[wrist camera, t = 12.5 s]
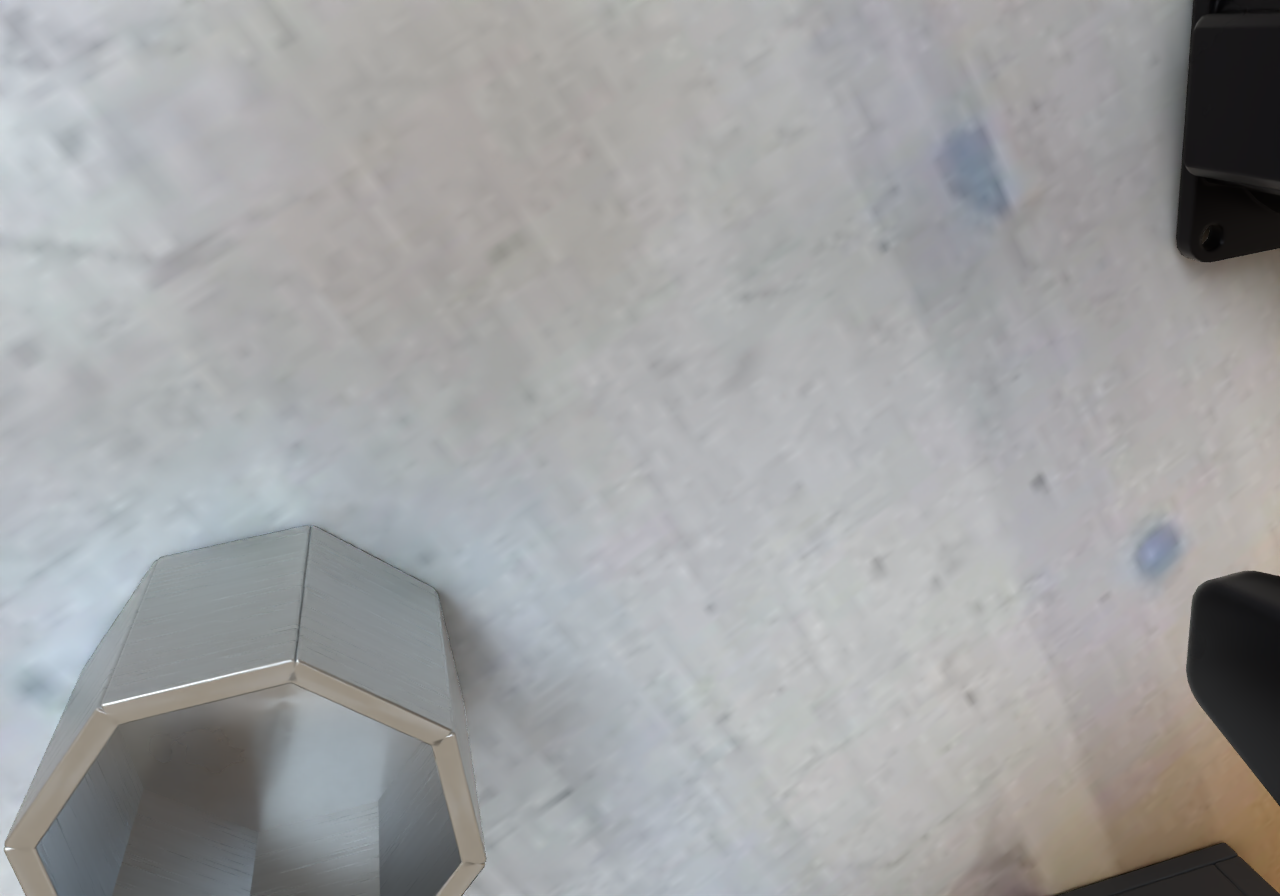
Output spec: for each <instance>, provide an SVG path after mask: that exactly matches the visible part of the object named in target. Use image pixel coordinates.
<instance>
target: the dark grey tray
mask: <svg viewBox="0 0 1280 896" xmlns="http://www.w3.org/2000/svg"><path fill="white" fill-rule="evenodd" d="M1057 896H1280V894H1279V893H1278V892H1277V891H1276V890H1275V889H1274V888H1273V887H1272V886H1270V885H1269V884H1268V883H1267V882H1266V881H1265V880H1264V879H1263V878H1262V877H1261V876H1260V875H1259V874H1258V873H1257V872H1256V871H1254V870H1253V869H1252V868H1251V867H1250V866H1249V865H1248V864H1247V863H1246V862H1245V861H1244V860H1243V859H1242V858H1241V857H1238V855H1237V853H1236V852H1235V851H1234V850H1233V849H1231V848H1230V847H1229V846H1228V845H1227V844H1226V843H1221V844H1218V845H1215V846H1211V847H1208V848H1205V849H1202V850H1199V851H1196V852H1193V853H1189V854H1186V855H1183V856H1180V857H1177V858H1174V859H1170V860H1167V861H1164V862H1161V863H1158V864H1155V865H1152V866H1148V867H1145V868H1142V869H1139V870H1136V871H1133V872H1129V873H1126V874H1123V875H1120V876H1117V877H1114V878H1111V879H1107V880H1104V881H1101V882H1098V883H1095V884H1092V885H1088V886H1085V887H1082V888H1079V889H1076V890H1073V891H1070V892H1066V893H1063V894H1060V895H1057Z"/></svg>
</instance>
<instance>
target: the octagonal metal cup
mask: <svg viewBox="0 0 1280 896" xmlns="http://www.w3.org/2000/svg"><path fill="white" fill-rule="evenodd" d="M4 852H5V854H6V856H7V858H8V860H9V862H10V864H11V866H12V868H13V870H14V872H15V874H16V877H17V879H18V881H19V883H20V885H21V887H22V889H23V891H24V893H25V895H26V896H462V895H463V894H464V892H465V891H466V890H467V888H468V887H469V886H470V885H471V883H472V882H473V881H474V879H475V878H476V877H477V876H478V874H479V873H480V872H481V870H482V869H483V868H484V866H485V862H486V859H487V857H486V851H485V844H484V837H483V830H482V823H481V816H480V809H479V803H478V796H477V789H476V782H475V775H474V768H473V761H472V755H471V748H470V741H469V734H468V727H467V720H466V713H465V707H464V700H463V696H462V692H461V688H460V683H459V679H458V675H457V671H456V667H455V663H454V658H453V654H452V650H451V646H450V642H449V638H448V633H447V629H446V625H445V621H444V617H443V613H442V608H441V604H440V600H439V596H438V593H437V592H436V591H435V589H434V588H433V587H431V586H429V585H427V584H425V583H423V582H421V581H419V580H417V579H415V578H413V577H411V576H410V575H408V574H406V573H404V572H402V571H400V570H398V569H396V568H394V567H392V566H390V565H388V564H386V563H385V562H383V561H381V560H379V559H377V558H375V557H373V556H371V555H369V554H367V553H365V552H363V551H361V550H360V549H358V548H356V547H354V546H352V545H350V544H348V543H346V542H344V541H342V540H340V539H338V538H336V537H335V536H333V535H331V534H329V533H327V532H325V531H323V530H321V529H319V528H317V527H315V526H312V527H310V526H309V525H306V526H301V527H297V528H292V529H287V530H283V531H278V532H274V533H269V534H265V535H260V536H255V537H251V538H246V539H242V540H237V541H233V542H228V543H223V544H219V545H214V546H210V547H205V548H200V549H196V550H191V551H187V552H182V553H178V554H173V555H168V556H164V557H161V558H159V560H156V561H155V562H154V563H153V565H152V566H151V568H150V569H149V571H148V572H147V574H146V575H145V577H144V578H143V580H142V581H141V583H140V584H139V586H138V587H137V589H136V590H135V592H134V593H133V595H132V596H131V598H130V599H129V601H128V602H127V604H126V605H125V607H124V608H123V610H122V611H121V613H120V614H119V616H118V617H117V619H116V620H115V622H114V623H113V625H112V626H111V628H110V629H109V631H108V632H107V634H106V635H105V637H104V638H103V640H102V641H101V643H100V644H99V646H98V647H97V649H96V650H95V652H94V653H93V655H92V656H91V658H90V659H89V661H88V662H87V664H86V665H85V667H84V668H83V670H82V672H81V674H80V676H79V678H78V681H77V683H76V685H75V687H74V690H73V692H72V694H71V696H70V698H69V701H68V703H67V705H66V707H65V710H64V712H63V714H62V716H61V718H60V721H59V723H58V725H57V727H56V730H55V732H54V734H53V736H52V738H51V741H50V743H49V745H48V747H47V749H46V752H45V754H44V756H43V758H42V761H41V763H40V765H39V767H38V769H37V772H36V774H35V776H34V778H33V781H32V783H31V785H30V787H29V789H28V792H27V794H26V796H25V798H24V801H23V803H22V805H21V807H20V809H19V812H18V814H17V816H16V818H15V821H14V823H13V825H12V827H11V829H10V832H9V834H8V836H7V838H6V840H5V847H4Z"/></svg>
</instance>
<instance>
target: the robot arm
mask: <svg viewBox="0 0 1280 896" xmlns="http://www.w3.org/2000/svg"><path fill="white" fill-rule="evenodd" d="M1208 227H1209V230H1210V232H1209V235H1208V238H1207V239H1206V241H1205V242H1204V243H1203V244H1202V240H1201V239H1202V236H1203V233H1204V231H1205V230H1206V229H1207V228H1208ZM1176 240H1177V248H1178V249H1179V251H1180V253H1181V254H1182V255H1183V256H1185V257H1187V258H1189V259H1193V260H1197V261H1200V262H1215V261H1219V260H1224V259H1229V258H1234V257H1239V256H1243V255H1248V254H1253V253H1258V252H1263V251H1268V250H1272V249H1277V248H1280V0H1194V1H1193V15H1192V29H1191V42H1190V56H1189V70H1188V84H1187V97H1186V111H1185V125H1184V139H1183V152H1182V166H1181V180H1180V194H1179V207H1178V221H1177V235H1176ZM1186 673H1187V679H1188V683H1189V685H1190V688H1191V691H1192V693H1193V695H1194V697H1195V699H1196V700H1197V702H1198V703H1199V705H1200V706H1201V707H1202V709H1203V710H1204V711H1205V712H1206V714H1207V715H1208V716H1209V717H1210V719H1211V720H1212V721H1213V722H1214V724H1215V725H1216V726H1217V728H1218V729H1219V730H1220V731H1221V733H1222V734H1223V735H1224V736H1225V738H1226V739H1227V740H1228V741H1229V743H1230V744H1231V745H1232V746H1233V748H1234V749H1235V750H1236V752H1237V753H1238V754H1239V755H1240V757H1241V758H1242V759H1243V760H1244V762H1245V763H1246V764H1247V765H1248V767H1249V768H1250V769H1251V770H1252V772H1253V773H1254V774H1255V776H1256V777H1257V778H1258V779H1259V781H1260V782H1261V783H1262V784H1263V786H1264V787H1265V788H1266V789H1267V791H1268V792H1269V793H1270V794H1271V796H1272V797H1273V798H1274V800H1275V801H1276V802H1277V803H1278V805H1279V806H1280V576H1276V575H1271V574H1267V573H1263V572H1257V571H1242V572H1238V573H1234V574H1230V575H1227V576H1223V577H1219V578H1216V579H1212V580H1208V581H1206V582H1204V583H1203V584H1201V585H1200V586H1199V587H1198V588H1197V590H1196V592H1195V593H1194V595H1193V599H1192V606H1191V617H1190V629H1189V641H1188V652H1187V664H1186Z"/></svg>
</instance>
